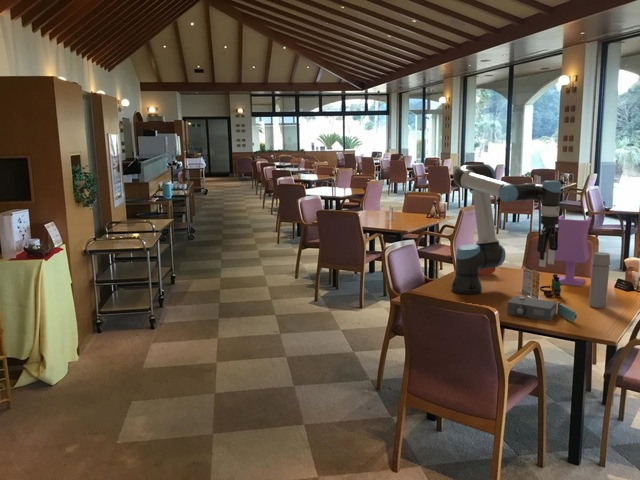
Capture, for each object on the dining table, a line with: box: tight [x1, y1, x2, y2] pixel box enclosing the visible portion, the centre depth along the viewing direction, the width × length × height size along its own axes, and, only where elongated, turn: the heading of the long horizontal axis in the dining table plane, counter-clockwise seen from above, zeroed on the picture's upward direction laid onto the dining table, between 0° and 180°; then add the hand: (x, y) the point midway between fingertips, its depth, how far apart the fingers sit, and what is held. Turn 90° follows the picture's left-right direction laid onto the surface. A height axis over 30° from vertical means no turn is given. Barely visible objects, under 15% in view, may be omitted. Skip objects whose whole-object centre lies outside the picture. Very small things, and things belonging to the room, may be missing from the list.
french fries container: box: [479, 267, 496, 276], centre depth 322 cm, size 5×11×18 cm, turn 89°
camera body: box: [506, 295, 558, 322], centre depth 250 cm, size 18×14×6 cm
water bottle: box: [588, 251, 611, 309], centre depth 260 cm, size 9×8×25 cm
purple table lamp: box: [554, 215, 593, 288], centre depth 301 cm, size 16×16×35 cm
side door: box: [556, 301, 578, 323], centre depth 244 cm, size 2×13×5 cm, turn 5°
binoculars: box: [539, 273, 563, 299], centre depth 278 cm, size 9×11×10 cm
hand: (546, 265), depth 257 cm, fingers open, 7 cm apart
